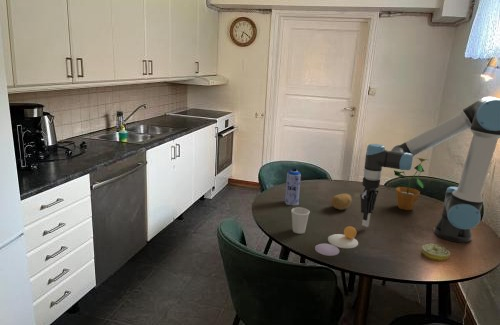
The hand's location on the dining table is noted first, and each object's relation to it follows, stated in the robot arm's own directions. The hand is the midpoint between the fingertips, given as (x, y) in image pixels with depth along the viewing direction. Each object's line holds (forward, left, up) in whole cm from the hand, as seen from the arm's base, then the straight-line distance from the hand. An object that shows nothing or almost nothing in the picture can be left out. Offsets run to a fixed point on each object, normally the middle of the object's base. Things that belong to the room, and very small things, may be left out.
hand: (365, 225), depth 175 cm
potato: (+22, -14, -2) cm, 26 cm away
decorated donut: (-32, 0, -2) cm, 32 cm away
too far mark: (0, +31, -2) cm, 31 cm away
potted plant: (0, -44, -2) cm, 44 cm away
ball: (0, +14, +1) cm, 14 cm away
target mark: (0, +19, -2) cm, 19 cm away
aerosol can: (+44, +1, -2) cm, 44 cm away
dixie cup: (+19, +26, -2) cm, 32 cm away
